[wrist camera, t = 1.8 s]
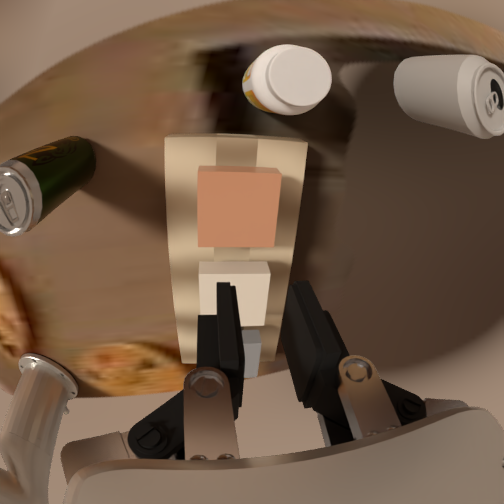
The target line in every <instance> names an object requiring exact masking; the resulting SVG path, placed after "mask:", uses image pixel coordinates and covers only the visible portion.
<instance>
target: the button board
mask: <svg viewBox="0 0 504 504" xmlns="http://www.w3.org/2000/svg"><path fill="white" fill-rule="evenodd" d="M307 147H308V143H307V142H305V141H303V140H301V139H298V138H288V137H276V136H262V135H244V134H206V133H191V134H169V135H168V136H166V137H165V192H166V215H167V232H168V247H169V259H170V271H171V281H172V291H173V300H174V309H175V317H176V324H177V332H178V339H179V346H180V353H181V359H182V363H197V324H198V315H200V296H199V261H205V262H217V261H267V264H268V267H269V270H270V273H271V275H270V283H269V291H268V299H267V307H266V314H265V322H264V326H241V330H259V332H260V337H261V342H262V344H261V352H260V359H259V362H262V361H274V359H275V354H276V349H277V344H278V338H279V333H280V328H281V322H282V317H283V311H284V305H285V300H286V294H287V288H288V282H289V276H290V270H291V264H292V257H293V251H294V244H295V238H296V231H297V224H298V217H299V210H300V203H301V195H302V188H303V180H304V172H305V164H306V156H307ZM199 166H249V167H270V168H277V169H278V170H279V171H280V172H281V173H282V178H281V188H280V197H279V206H278V215H277V224H276V233H275V241H274V247H198V224H197V179H198V168H199Z"/></svg>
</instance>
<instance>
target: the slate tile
mask: <svg viewBox="0 0 504 504" xmlns="http://www.w3.org/2000/svg"><path fill="white" fill-rule="evenodd" d="M242 338H243V345H244V352H245V372H244V378H250V377H257V373H258V366H259V359H260V352H261V344H262V342H261V337H260V332H259V330H242Z"/></svg>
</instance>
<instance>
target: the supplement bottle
mask: <svg viewBox="0 0 504 504" xmlns="http://www.w3.org/2000/svg"><path fill="white" fill-rule="evenodd" d="M331 82H332V76H331V71H330V68H329V66H328V64H327V62H326V61H325V59H324V58H323V57H322V56H321V55H319V54H318V53H317V52H315V51H313V50H311V49H309V48H305V47H299V46H296V45H279V46H275V47H272V48H270V49H268V50H266V51H265V52H263V53H262V54H261V55H260V56H259V57H258V58H257V59H256V60H255V61H254V62H253V63H252V64H251V65H250V66H249V68H248V69H247V70H246V72H245V74H244V77H243V91H244V94H245V96H246V98H247V99H248V100H249V102H250V103H251V104H252V105H254V106H255V107H256V108H258V109H260V110H263V111H266V112H271V113H277V114H282V115H297V114H302V113H305V112H307V111H309V110H310V109H312V108H314V107H315V106H316V105H317V104H318V103H319V102H320V101H321V100H322V99H323V98H324V97H325V96H326V95H327V93H328V92H329V90H330V87H331Z"/></svg>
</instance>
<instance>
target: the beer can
mask: <svg viewBox="0 0 504 504" xmlns="http://www.w3.org/2000/svg"><path fill="white" fill-rule="evenodd" d="M95 167H96V157H95V152H94V150H93V148H92V146H91V145H90V144H89V143H88V142H87V141H86V140H85V139H83V138H81V137H78V136H70V137H67V138H64V139H61V140H58V141H55V142H52V143H50V144H47V145H44V146H42V147H39V148H36V149H34V150H31V151H29V152H26V153H24V154H22V155H19V156H17V157H15V158H12V159H10V160H8V161H6V162H4V163H1V164H0V232H2V233H4V234H6V235H8V236H18V235H21V234H22V233H24V232H28V231H30V230H31V229H32V228H34V227H35V226H36V225H37V224H38V223H39V222H40V221H41V220H43V219H44V218H45V217H46V216H47V215H48V214H49V213H51V212H52V211H53V210H54V209H55V208H57V207H58V206H59V205H60V204H61V203H63V202H64V201H65V200H66V199H67V198H69V197H70V196H71V195H72V194H74V193H75V192H76V191H78V190H79V189H80V188H81V187H83V186H84V185H85V184H87V183H88V182H89V181H90V179H91V178H92V177H93V174H94V171H95Z"/></svg>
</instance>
